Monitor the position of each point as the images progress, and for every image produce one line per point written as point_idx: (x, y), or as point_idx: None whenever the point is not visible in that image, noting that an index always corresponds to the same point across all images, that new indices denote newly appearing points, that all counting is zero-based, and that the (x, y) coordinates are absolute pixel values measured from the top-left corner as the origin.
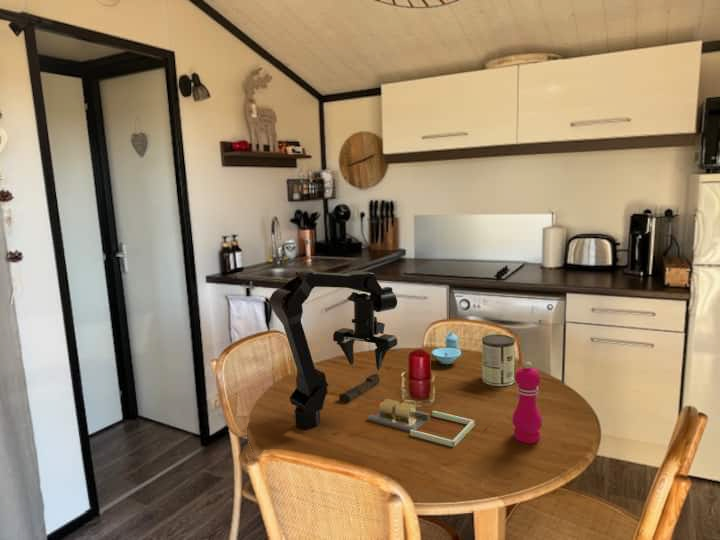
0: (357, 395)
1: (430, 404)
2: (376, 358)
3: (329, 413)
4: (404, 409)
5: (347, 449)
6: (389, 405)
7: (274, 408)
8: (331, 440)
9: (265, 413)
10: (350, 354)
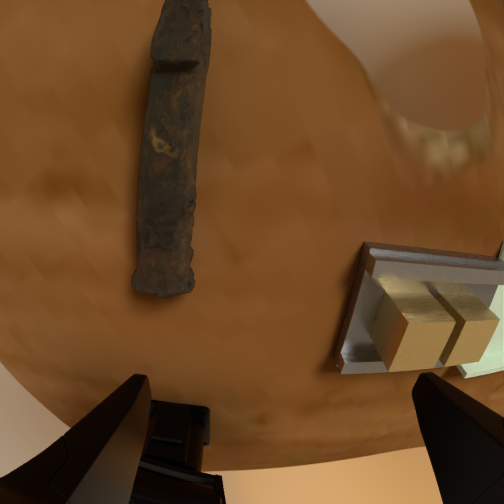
0: (192, 215)
1: (486, 131)
2: (446, 492)
3: (163, 343)
4: (469, 360)
5: (324, 445)
6: (424, 363)
7: (20, 355)
8: (270, 439)
9: (31, 381)
10: (121, 475)
